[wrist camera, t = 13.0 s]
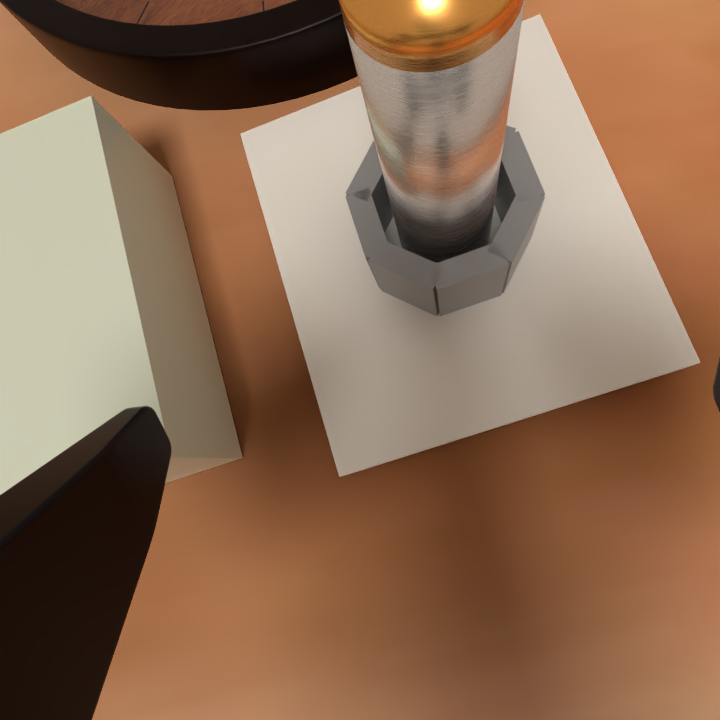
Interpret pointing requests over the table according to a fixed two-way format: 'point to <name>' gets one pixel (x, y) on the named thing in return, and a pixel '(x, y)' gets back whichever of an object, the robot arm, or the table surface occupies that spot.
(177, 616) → the table surface
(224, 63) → the wall clock
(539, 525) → the table surface
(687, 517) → the table surface
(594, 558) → the table surface
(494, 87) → the gold topped patterned cylinder
